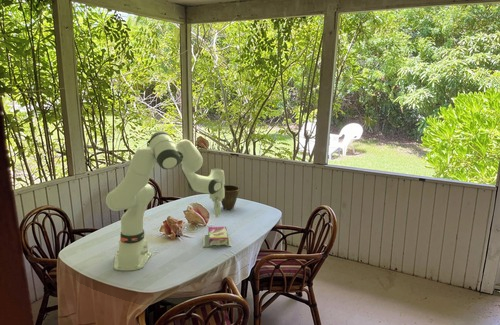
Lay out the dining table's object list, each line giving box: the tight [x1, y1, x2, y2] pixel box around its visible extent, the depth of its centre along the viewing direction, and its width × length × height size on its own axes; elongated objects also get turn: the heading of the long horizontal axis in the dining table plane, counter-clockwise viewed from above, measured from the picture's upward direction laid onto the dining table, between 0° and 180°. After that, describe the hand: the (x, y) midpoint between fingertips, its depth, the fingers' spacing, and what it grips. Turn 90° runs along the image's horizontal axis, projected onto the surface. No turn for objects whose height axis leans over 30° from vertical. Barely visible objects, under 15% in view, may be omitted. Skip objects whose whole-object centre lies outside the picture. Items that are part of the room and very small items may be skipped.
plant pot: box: [220, 184, 240, 211], centre depth 261 cm, size 15×15×16 cm
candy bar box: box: [207, 226, 229, 246], centre depth 209 cm, size 11×5×16 cm
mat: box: [202, 233, 232, 248], centre depth 209 cm, size 16×16×1 cm
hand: (216, 216), depth 212 cm, fingers closed
